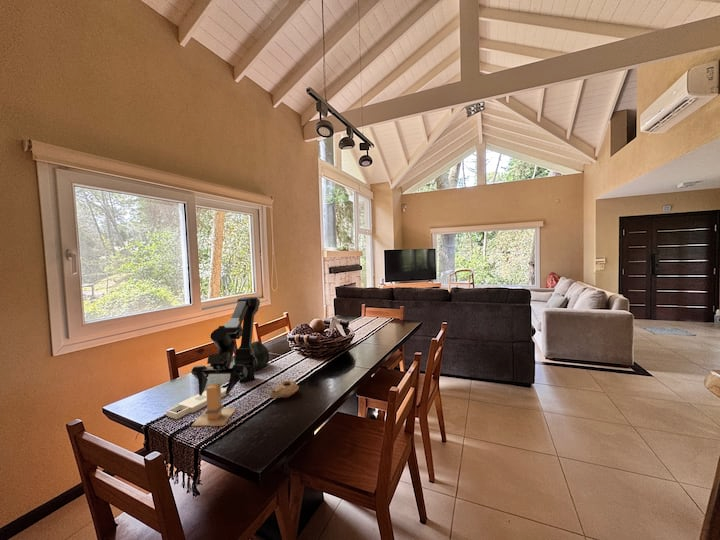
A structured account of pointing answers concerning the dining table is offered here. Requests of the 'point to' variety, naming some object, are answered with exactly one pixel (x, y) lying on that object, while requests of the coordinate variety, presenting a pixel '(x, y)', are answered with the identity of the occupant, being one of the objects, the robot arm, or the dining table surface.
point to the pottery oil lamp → (284, 389)
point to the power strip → (191, 405)
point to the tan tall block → (214, 401)
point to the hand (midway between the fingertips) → (213, 394)
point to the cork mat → (220, 421)
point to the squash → (260, 354)
